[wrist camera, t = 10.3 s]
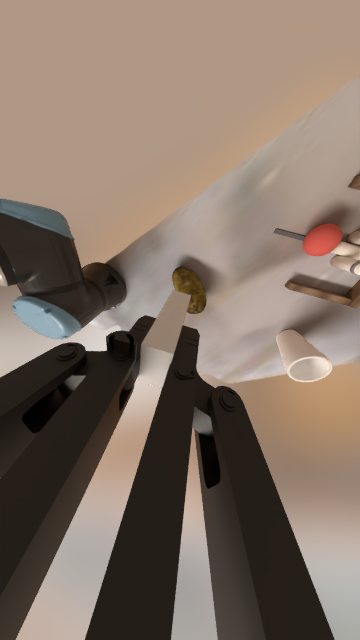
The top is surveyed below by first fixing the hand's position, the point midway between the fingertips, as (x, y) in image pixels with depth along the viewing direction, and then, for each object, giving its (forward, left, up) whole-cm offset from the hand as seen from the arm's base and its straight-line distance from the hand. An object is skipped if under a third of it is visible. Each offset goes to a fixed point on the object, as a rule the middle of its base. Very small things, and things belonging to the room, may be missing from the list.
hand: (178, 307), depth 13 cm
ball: (+24, +8, -29) cm, 39 cm away
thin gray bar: (+19, +8, -32) cm, 38 cm away
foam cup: (+34, -18, -33) cm, 50 cm away
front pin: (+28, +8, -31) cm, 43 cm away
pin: (+31, +6, -32) cm, 45 cm away
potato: (0, -10, -33) cm, 34 cm away
